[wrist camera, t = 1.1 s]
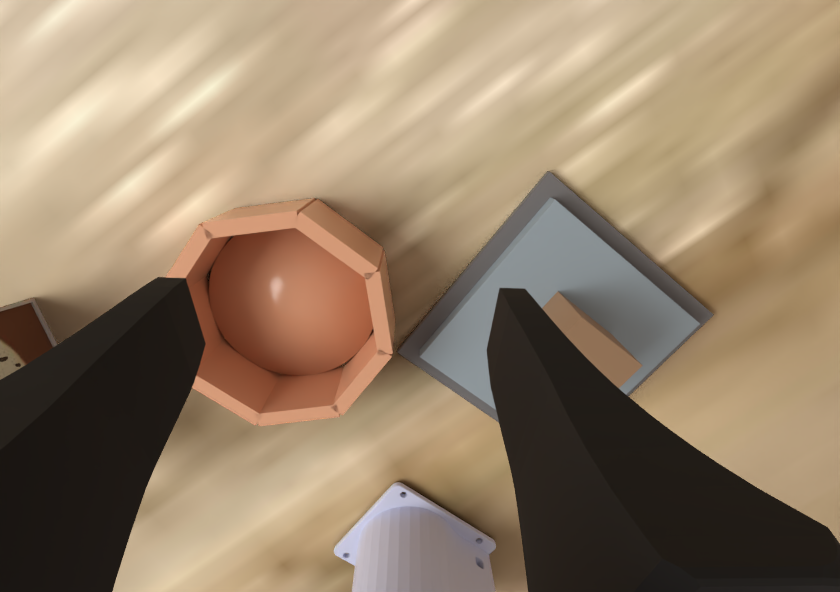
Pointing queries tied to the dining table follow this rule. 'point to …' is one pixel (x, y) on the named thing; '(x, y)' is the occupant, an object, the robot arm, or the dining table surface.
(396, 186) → the dining table surface
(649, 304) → the lid
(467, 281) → the mat
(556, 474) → the robot arm
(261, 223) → the bowl
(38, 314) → the food container
